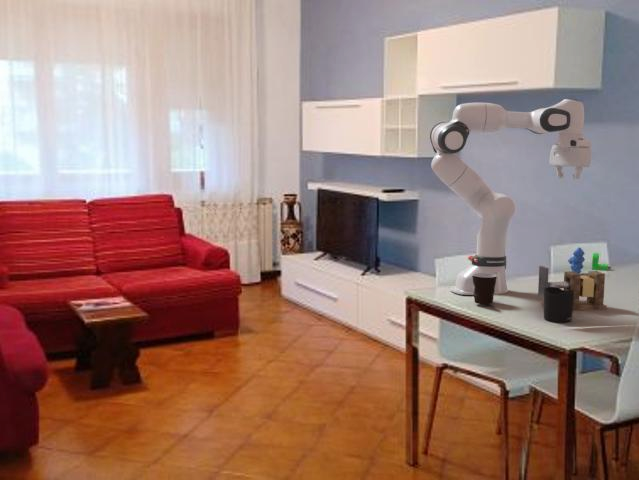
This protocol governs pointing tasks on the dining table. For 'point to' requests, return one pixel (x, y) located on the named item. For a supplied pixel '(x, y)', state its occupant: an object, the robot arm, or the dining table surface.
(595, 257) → the mechanical part
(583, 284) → the spacer
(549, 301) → the pen holder
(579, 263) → the grapes
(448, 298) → the dining table surface
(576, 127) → the robot arm
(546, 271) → the shaft
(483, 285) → the coffee mug
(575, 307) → the bearing block
